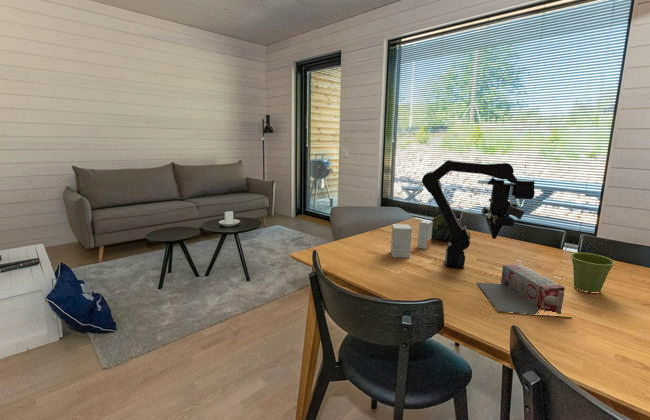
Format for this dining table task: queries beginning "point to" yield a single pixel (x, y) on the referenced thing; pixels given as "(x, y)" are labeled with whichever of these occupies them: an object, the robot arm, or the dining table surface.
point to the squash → (441, 228)
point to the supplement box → (401, 240)
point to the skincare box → (424, 234)
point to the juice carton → (533, 287)
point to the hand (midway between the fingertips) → (493, 238)
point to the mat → (507, 299)
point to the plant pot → (590, 271)
